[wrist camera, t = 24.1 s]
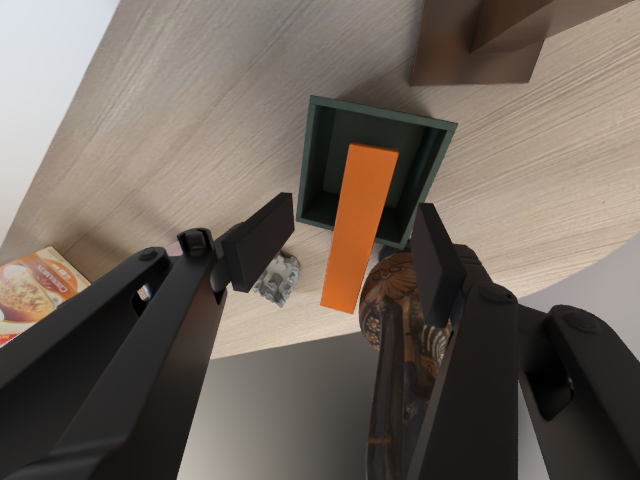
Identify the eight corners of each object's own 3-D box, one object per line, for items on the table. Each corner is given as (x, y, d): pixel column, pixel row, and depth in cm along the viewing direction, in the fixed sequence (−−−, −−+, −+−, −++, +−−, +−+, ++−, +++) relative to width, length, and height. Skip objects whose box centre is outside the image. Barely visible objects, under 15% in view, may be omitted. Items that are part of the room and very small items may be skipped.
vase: (386, 293, 41) (387, 589, 16) (350, 239, 37) (277, 511, 12) (455, 271, 36) (626, 668, 10) (422, 206, 32) (557, 572, 7)
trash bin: (333, 98, 28) (309, 95, 19) (434, 118, 27) (458, 123, 18) (318, 192, 35) (295, 221, 26) (398, 211, 33) (403, 250, 24)
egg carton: (270, 243, 42) (260, 255, 38) (306, 262, 42) (299, 275, 38) (256, 280, 48) (246, 294, 44) (288, 297, 48) (280, 311, 44)
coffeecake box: (95, 287, 65) (-1, 347, 49) (85, 292, 68) (-10, 350, 52) (51, 244, 60) (-75, 295, 44) (41, 251, 63) (-80, 302, 47)
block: (399, 152, 18) (397, 149, 20) (349, 143, 19) (352, 141, 21) (353, 314, 27) (355, 300, 29) (319, 305, 27) (324, 292, 29)
